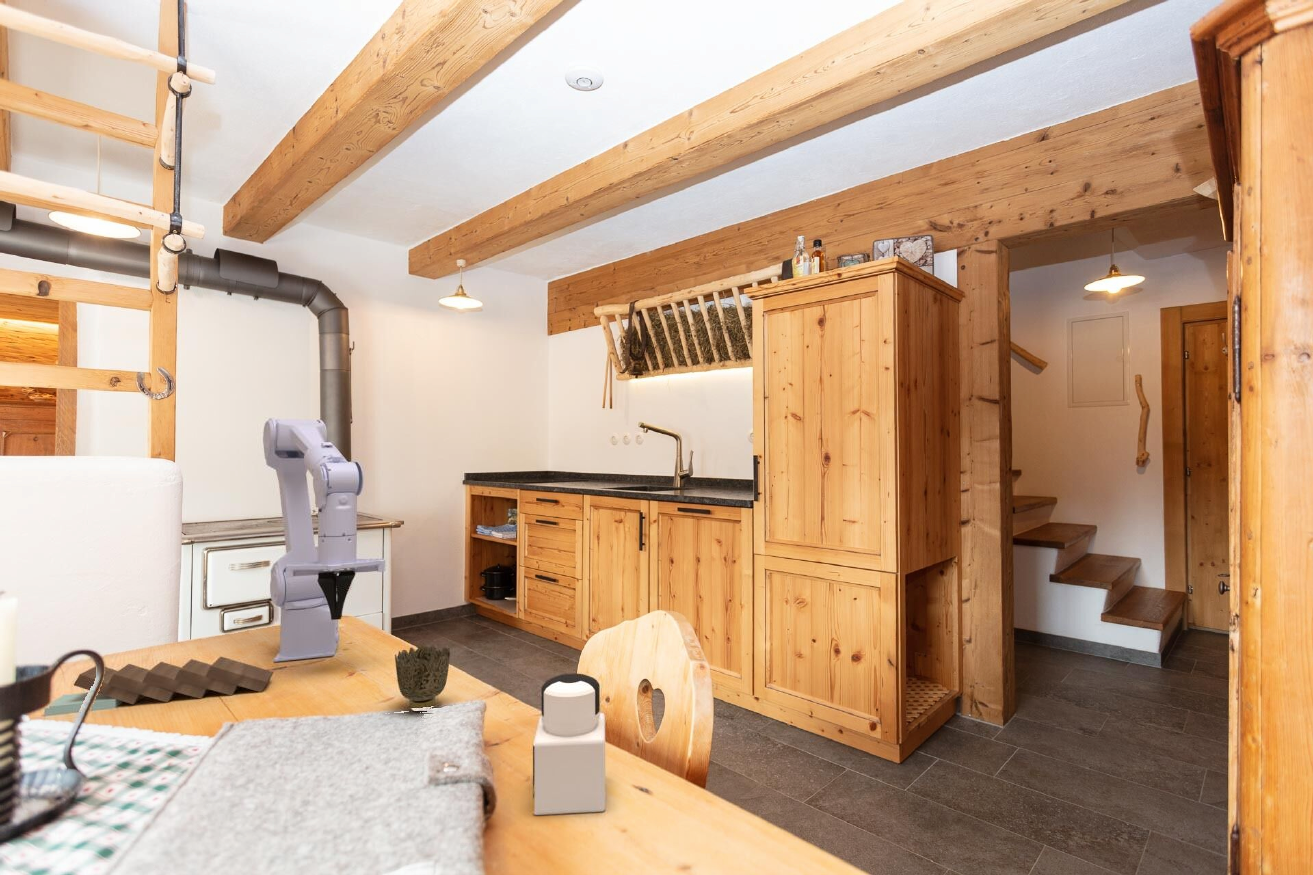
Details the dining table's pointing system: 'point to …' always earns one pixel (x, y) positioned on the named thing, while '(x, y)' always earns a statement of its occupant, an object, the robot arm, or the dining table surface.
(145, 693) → the domino
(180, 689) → the domino
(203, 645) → the dining table surface
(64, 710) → the domino
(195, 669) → the domino
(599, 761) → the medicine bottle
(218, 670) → the domino
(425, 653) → the cup
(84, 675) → the domino
